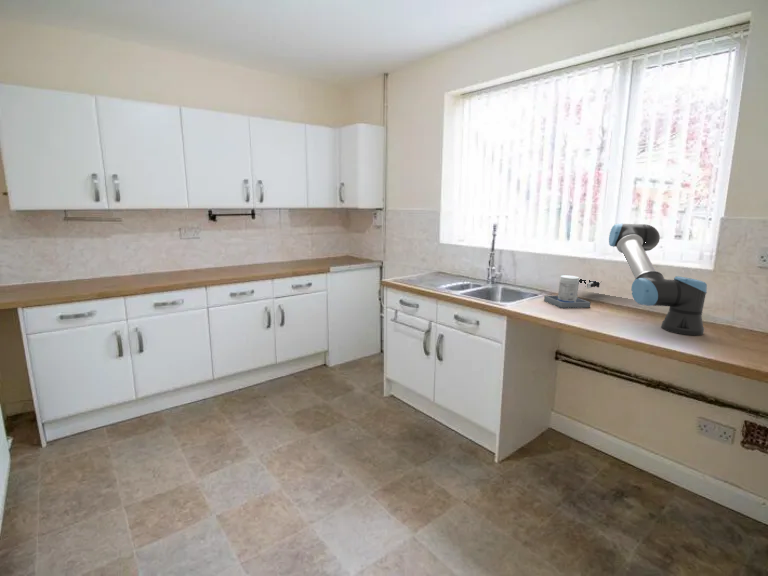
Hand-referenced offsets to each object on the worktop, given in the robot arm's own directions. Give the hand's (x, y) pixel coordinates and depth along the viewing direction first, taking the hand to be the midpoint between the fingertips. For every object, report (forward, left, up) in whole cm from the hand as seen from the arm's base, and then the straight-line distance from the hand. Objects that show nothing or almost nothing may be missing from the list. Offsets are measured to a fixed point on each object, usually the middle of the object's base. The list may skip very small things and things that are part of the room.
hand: (575, 284), depth 228 cm
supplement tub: (-6, +8, -10) cm, 14 cm away
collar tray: (-6, +8, -10) cm, 14 cm away
